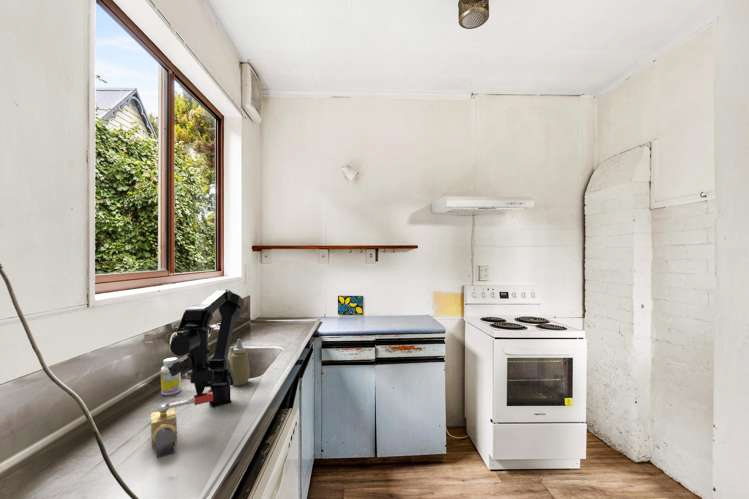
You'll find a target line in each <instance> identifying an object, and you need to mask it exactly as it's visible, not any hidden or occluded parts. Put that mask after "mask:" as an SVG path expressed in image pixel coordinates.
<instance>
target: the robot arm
mask: <svg viewBox="0 0 749 499" xmlns="http://www.w3.org/2000/svg"><path fill="white" fill-rule="evenodd" d="M244 303H245V302H244V299H243V298H242V296H240V295H239V294H237V293H234V292H233V291H231V289H216V290H215V291H214V293H212V294H211V295H210V296H209V297H207V298H206V299H205V300H204V301H202V302H201V303H198V304H194V305H191V306H188V307H186V309H185V310H184V311H183V313H182V314H183V315H182V318H181V320H180V322H179V326H178V328H177V332H176V336H175V337H174V338H173V339H172V340H171V342H170V344H169V345H170V346H169V347H170V348H169V349H170V351H171V353H172V355H175V356H177V357H178V358H177V360H174V361H172V362H170V363H169V364H167V367H168V369H169V372H170V374H171V376H175V375H177V374H178V373H180V372H184V371H186V370H188V371H190V372H187V376H188V380H189V382H190V384H193V385H194V388H195V391H196V395H198V394H203V393H204V391H205V388H209V390H208V391H207V392H212V393H213V401H211V402H208V404H209V405H210V406H211V408H214V407H219V406H224V405H227V404H231V403H232V402H233V401H232V398H231V386H235V385H234V380H235V376H234V374H233V373H232V371H231V365H230V360H229V354H230V347H231V343H232V339H233V338H232V337H233V333H234V326H235V322H236V320H237V319H238V317H239V316H240V315H241V313H242V310H243V307H244ZM217 310H218V313H219V315H220V317H221V320H220V323H219V327H218V328H219V330H218V333H217V338H216V343H215V347H214V352H213V356H212V357H211V358H209V354H210V348H209V331H210V329H211V326H210V323H211V321H212V320H213V319H214V313H215V312H216V311H217Z"/></svg>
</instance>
